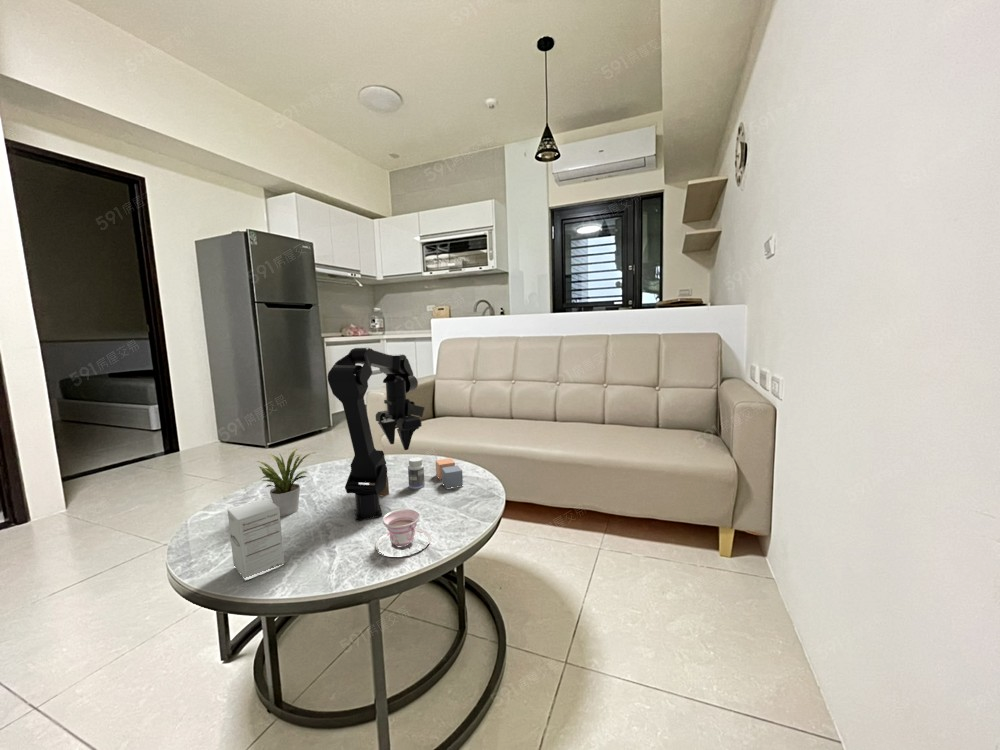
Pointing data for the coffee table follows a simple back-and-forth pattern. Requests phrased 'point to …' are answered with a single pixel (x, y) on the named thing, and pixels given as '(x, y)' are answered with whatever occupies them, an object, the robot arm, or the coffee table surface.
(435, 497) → the coffee table surface
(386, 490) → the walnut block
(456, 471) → the slate-grey block
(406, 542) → the teacup
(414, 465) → the pill bottle
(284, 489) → the house plant
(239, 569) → the supplement box
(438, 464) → the terracotta block
